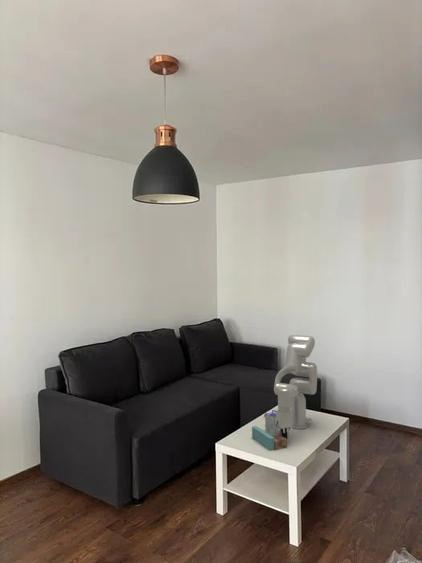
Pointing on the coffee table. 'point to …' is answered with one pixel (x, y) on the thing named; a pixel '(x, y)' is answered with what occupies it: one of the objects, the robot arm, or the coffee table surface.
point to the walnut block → (279, 442)
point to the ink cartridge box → (271, 424)
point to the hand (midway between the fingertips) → (284, 438)
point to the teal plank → (263, 437)
